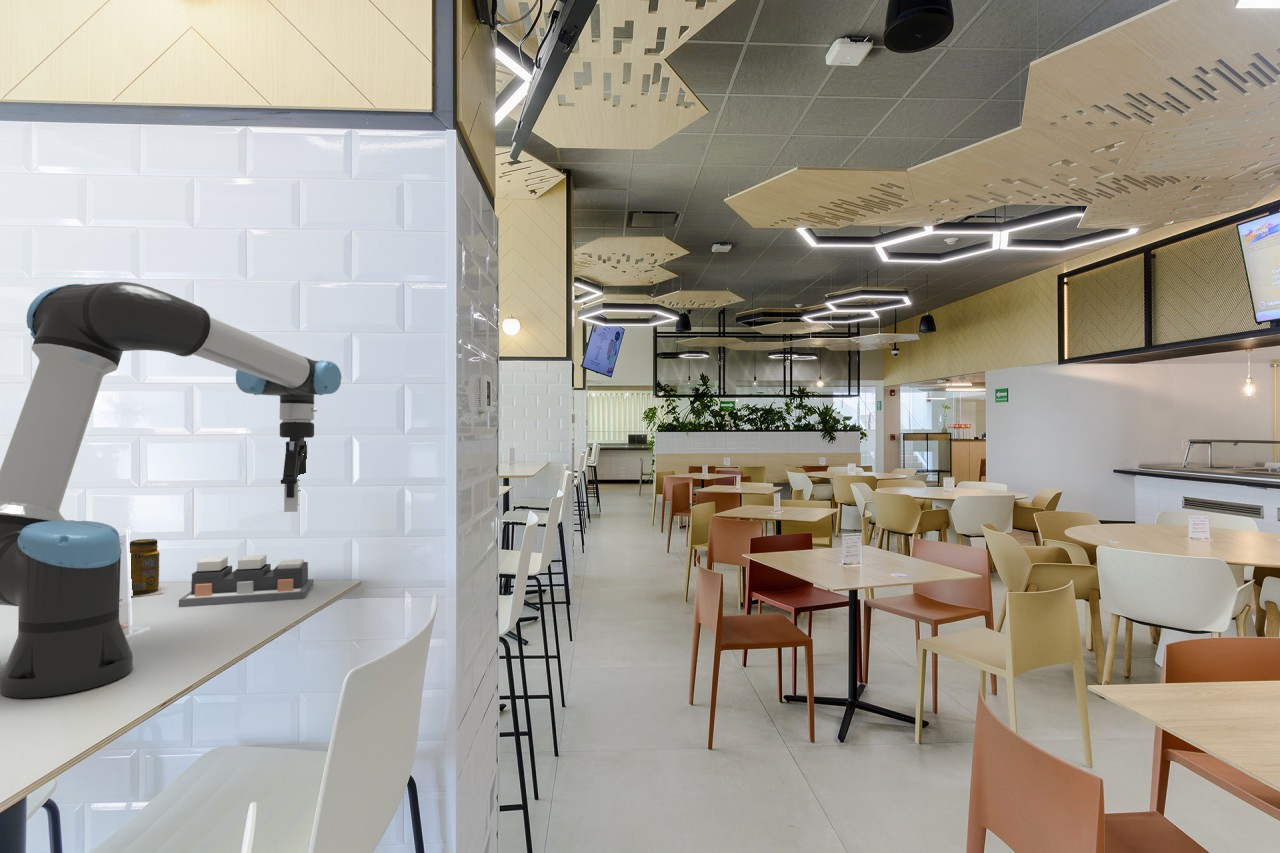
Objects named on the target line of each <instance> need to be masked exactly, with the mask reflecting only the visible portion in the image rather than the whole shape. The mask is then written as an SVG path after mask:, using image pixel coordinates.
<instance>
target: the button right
mask: <svg viewBox="0 0 1280 853" xmlns="http://www.w3.org/2000/svg"><path fill="white" fill-rule="evenodd" d="M304 562H305V558H298V559H297V558H295V559H283V560H281V561H280V562H279V563H278V564H277V566H278V569H288V568H301V567H302V566H303V565H304Z"/></svg>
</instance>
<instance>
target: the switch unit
mask: <svg viewBox="0 0 1280 853" xmlns="http://www.w3.org/2000/svg"><path fill="white" fill-rule="evenodd" d="M190 582H191V587H190V588H191V589H190V590H191V591H189V592H188V593H187V594H185V595H184V596H181V598H179V599H178V608H179V607H180V608H182V607H197V606H198V607H199V606H215V605H227V604H228V605H229V603H231V604H243V602H247V603H257V602H258V603H260V602H274V601H275V602H277V601H290V600H303V599H304V598H305V597H306V596H307V595H308V593H309V592H310V590H311V589H312V588H313V586H314V578H309V562H308V561H304V565H303V566H302V567H301V568H288V569H278V565H276V566H275V568H273V569H272V568H271V563H266V564H265V565H264V566H263V567H261V568H257V569H238V568H236V569H234V571H233V565H227V566H226V567H224V568H223V569H221V570H217V571H197V570H196V571H194V572H192V573H191V581H190Z"/></svg>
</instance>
